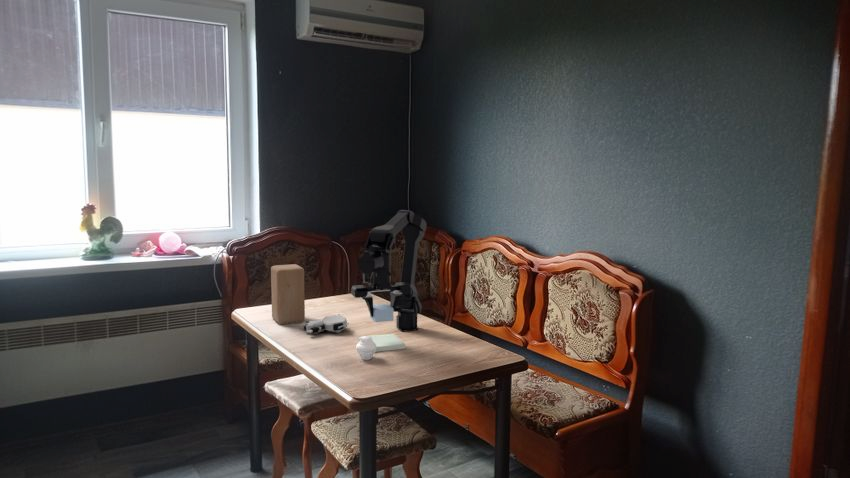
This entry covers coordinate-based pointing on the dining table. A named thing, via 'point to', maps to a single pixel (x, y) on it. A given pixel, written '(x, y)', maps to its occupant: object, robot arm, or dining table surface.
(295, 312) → the wooden block
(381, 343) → the pale green square slab
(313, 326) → the robot toy
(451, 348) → the dining table surface
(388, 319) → the brick
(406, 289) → the robot arm
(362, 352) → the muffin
